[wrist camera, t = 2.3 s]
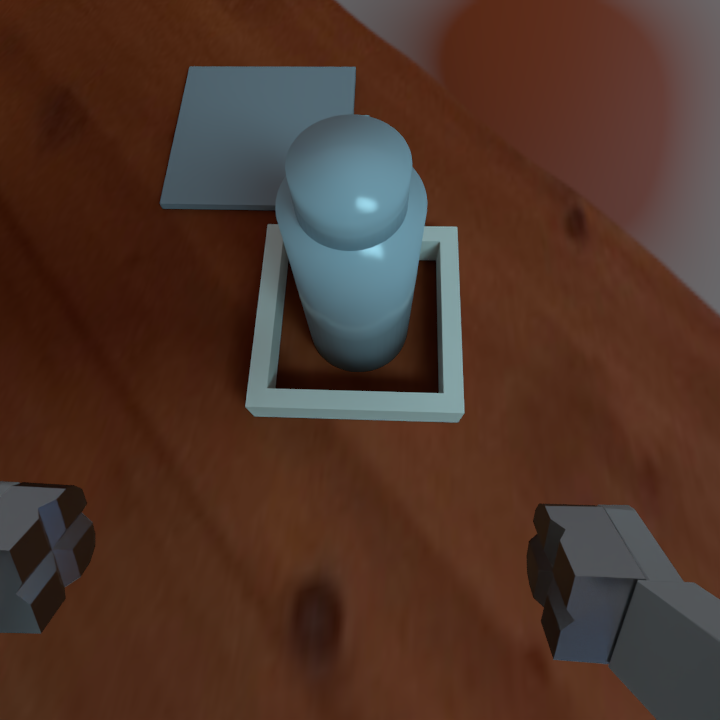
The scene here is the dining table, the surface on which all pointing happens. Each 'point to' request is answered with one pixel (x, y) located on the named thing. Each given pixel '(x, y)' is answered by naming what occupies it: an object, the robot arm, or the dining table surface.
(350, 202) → the blue capped bottle
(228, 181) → the mat
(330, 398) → the holder
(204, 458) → the dining table surface
